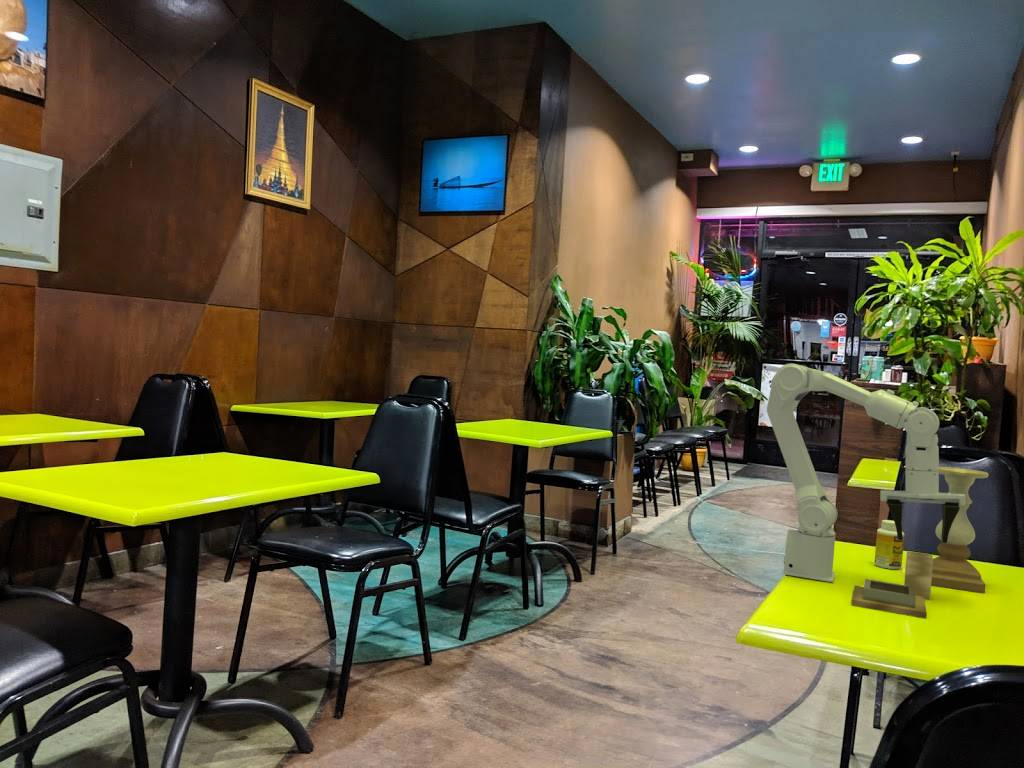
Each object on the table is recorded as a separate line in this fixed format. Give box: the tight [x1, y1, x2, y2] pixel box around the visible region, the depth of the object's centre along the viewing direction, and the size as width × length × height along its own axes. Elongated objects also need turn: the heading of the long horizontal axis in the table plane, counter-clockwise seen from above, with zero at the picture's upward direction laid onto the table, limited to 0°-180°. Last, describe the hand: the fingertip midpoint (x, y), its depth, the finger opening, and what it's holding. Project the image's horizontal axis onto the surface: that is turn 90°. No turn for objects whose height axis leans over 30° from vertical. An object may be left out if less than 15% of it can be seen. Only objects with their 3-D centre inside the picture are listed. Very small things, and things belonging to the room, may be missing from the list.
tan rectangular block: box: [903, 550, 934, 601], centre depth 153 cm, size 4×4×8 cm
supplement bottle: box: [874, 519, 905, 570], centre depth 177 cm, size 6×6×10 cm
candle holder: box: [931, 466, 989, 594], centre depth 165 cm, size 11×11×24 cm
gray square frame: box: [863, 578, 916, 608], centre depth 145 cm, size 8×8×2 cm
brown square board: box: [851, 585, 928, 619], centre depth 145 cm, size 12×12×1 cm
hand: (921, 540), depth 153 cm, fingers open, 7 cm apart
